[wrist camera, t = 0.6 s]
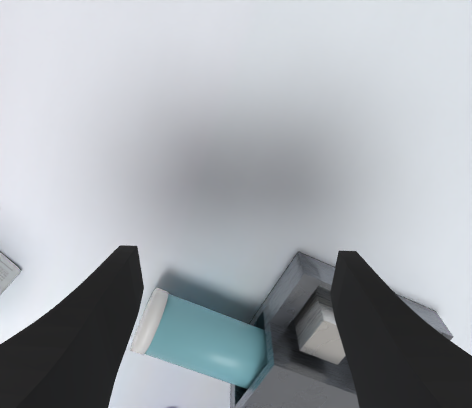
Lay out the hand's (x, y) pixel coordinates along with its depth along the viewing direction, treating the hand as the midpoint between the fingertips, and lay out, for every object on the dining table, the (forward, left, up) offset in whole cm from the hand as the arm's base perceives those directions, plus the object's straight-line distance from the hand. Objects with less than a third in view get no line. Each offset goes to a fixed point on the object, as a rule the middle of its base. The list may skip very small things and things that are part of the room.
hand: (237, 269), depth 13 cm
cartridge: (-11, -6, -11) cm, 16 cm away
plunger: (-6, -10, -9) cm, 15 cm away
